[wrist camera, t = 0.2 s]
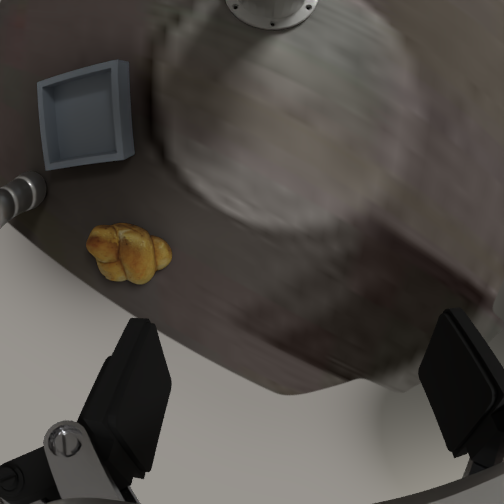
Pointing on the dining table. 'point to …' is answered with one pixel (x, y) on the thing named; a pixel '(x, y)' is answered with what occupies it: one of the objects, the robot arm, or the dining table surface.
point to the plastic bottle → (21, 195)
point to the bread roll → (128, 252)
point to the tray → (86, 116)
